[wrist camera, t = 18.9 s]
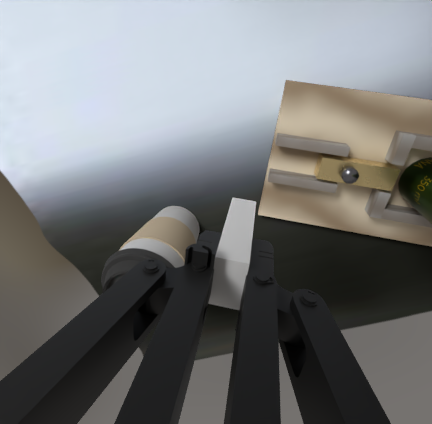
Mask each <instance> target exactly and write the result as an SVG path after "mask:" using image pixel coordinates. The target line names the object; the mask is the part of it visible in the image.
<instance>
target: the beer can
mask: <svg viewBox="0 0 432 424" xmlns="http://www.w3.org/2000/svg"><path fill="white" fill-rule="evenodd" d="M398 188H399V192H400V194H401V196H402V197H403V198H404V199H405V200H406V201H407V202H408V203H410V204H411V205H412V206H413V207H414V208H415V209H416V210H417V211H418V212H419V213H420V214H421V215H422V216H423V217H424V218H425V219H427V220H428V221H429V222H430V223H431V224H432V157H429V158H424V159H420V160H417V161H415V162H413V163H411V164H410V165H409V166H407V167H406V168H405V169H404V171H403V172H402V173H401V175H400V178H399V182H398Z"/></svg>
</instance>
